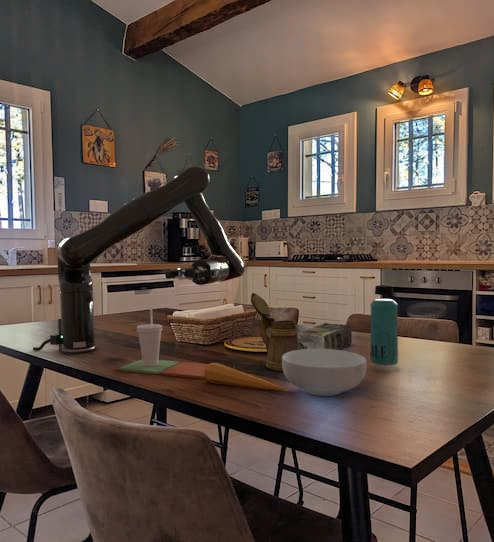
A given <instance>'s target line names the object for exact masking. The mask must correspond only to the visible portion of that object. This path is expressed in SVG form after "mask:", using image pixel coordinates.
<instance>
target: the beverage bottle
mask: <svg viewBox="0 0 494 542" xmlns="http://www.w3.org/2000/svg"><path fill="white" fill-rule="evenodd" d="M374 295H378V296H391V295H394V291H393V285H388V284H379V285H375V287H374ZM398 308H399V304H398V303H397V302H396V301H395V300H394V299H392V298H376V299H374V300H372V301H371V302H370V318H369V326H370V327H369V328H370V335H369V336H370V339H369V341H370V351H369V356H370V357H369V359H370V362H371V363H372V364H374V365H376V366H377V365H378V366H395V365H397V364H398V361H399V335H398Z"/></svg>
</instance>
